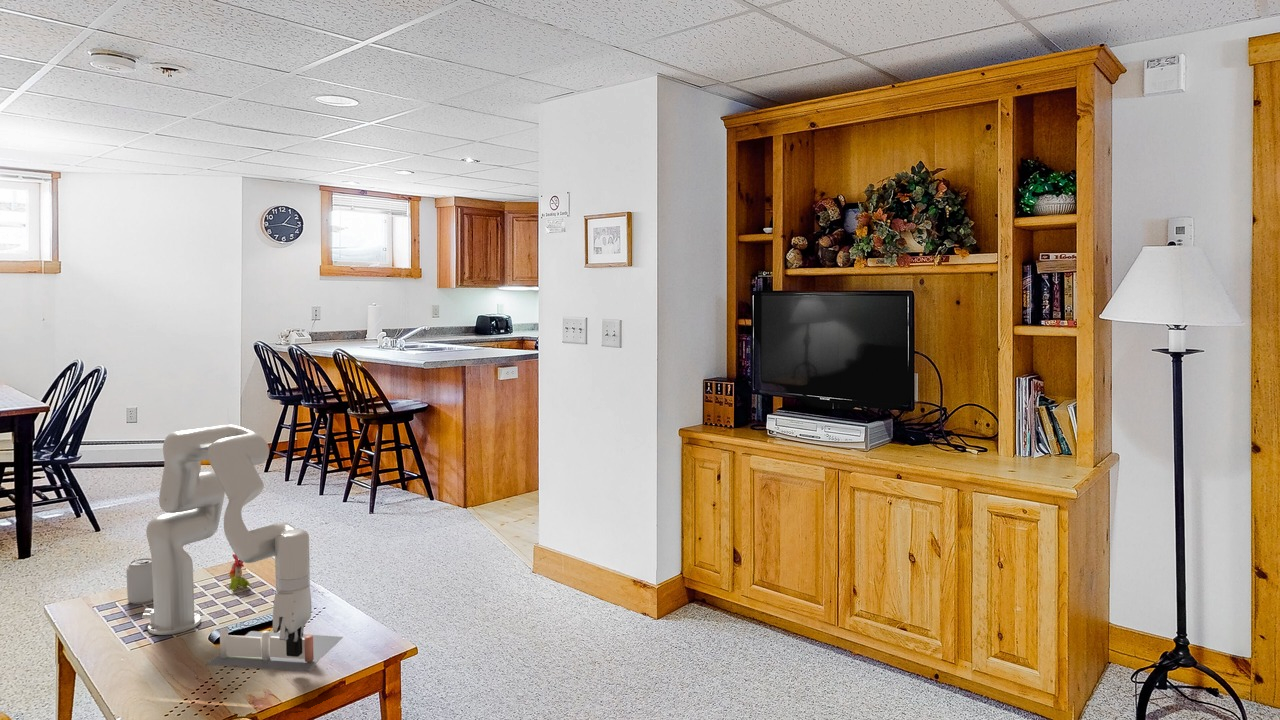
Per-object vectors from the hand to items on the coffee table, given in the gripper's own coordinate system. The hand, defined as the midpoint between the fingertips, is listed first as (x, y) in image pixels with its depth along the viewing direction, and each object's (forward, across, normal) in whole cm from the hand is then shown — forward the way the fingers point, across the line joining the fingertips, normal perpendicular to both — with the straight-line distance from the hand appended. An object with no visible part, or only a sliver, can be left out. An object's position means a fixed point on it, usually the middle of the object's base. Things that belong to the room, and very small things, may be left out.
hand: (294, 654), depth 190 cm
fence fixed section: (+4, -4, -16) cm, 17 cm away
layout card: (+5, -9, -10) cm, 15 cm away
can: (+5, -35, -67) cm, 76 cm away
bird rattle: (+5, -48, -46) cm, 67 cm away
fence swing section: (+3, -4, -3) cm, 6 cm away
